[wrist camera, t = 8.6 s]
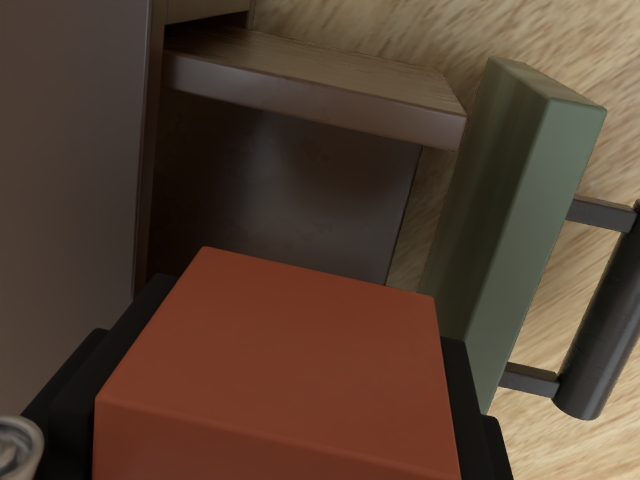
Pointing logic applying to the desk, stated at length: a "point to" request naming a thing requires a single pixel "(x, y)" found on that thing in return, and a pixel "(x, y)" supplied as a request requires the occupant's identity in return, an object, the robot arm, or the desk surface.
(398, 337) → the block
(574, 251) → the desk surface
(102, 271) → the cabinet
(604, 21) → the desk surface
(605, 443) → the desk surface
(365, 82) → the drawer
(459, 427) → the robot arm
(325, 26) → the desk surface
